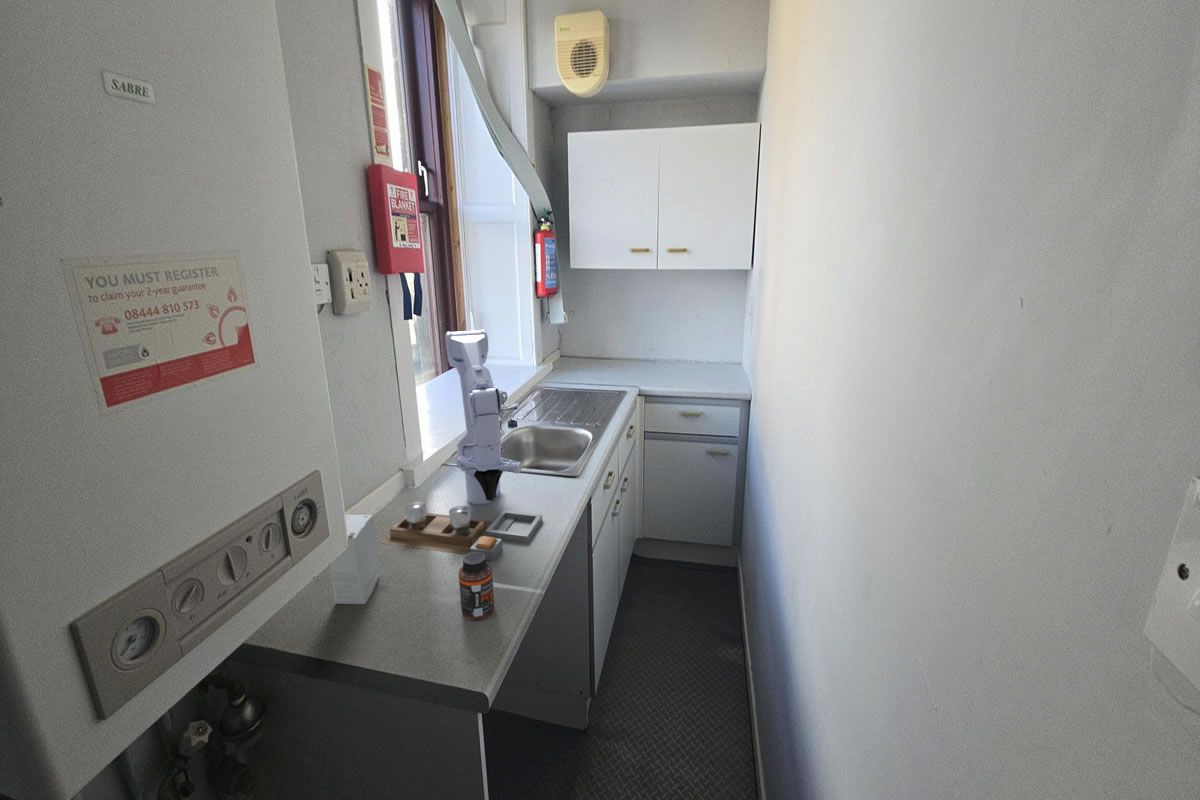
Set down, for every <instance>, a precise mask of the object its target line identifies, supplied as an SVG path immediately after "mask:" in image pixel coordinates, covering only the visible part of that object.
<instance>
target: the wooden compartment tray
mask: <svg viewBox="0 0 1200 800" xmlns="http://www.w3.org/2000/svg"><path fill="white" fill-rule="evenodd" d="M426 516H427V526H426V527H425V528H424V529H423V530H414V529H408V528H407V520H406V514H405V515H404V516H403V517H401V519H399V521H397V522H396V523H394V524H393V525H392V526H391V527H390V528H389V535H388V536H386V537H385V538H384V539H383V540H381V542H380V544H385V545H392V546H399V547H407V548H414V549H421V550H427V551H434V552H435V551H436V552H441V553H442V552H443V553H444V552H445V553H449V554H450V553H451V554H456V555H457V554H458V555H464V556H465V555H467V554H469V553H471V552H470V548H471V547H472V546H473V545H474V543H475V542H476V541H477V540H478V539H479V537H480V536H486V532H485V531H486V530H487V529H488V528H489V526H490V525H491V524H492V523H493V522H494V521H488V520H486V519H480V518H471V517H470V523H471V533H470V534H469V535H468V536H460V535H452V534H451V527H450V516H449V514H448V515H446V514H438V513H429V512H426Z"/></svg>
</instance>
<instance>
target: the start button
mask: <svg viewBox="0 0 1200 800" xmlns="http://www.w3.org/2000/svg"><path fill="white" fill-rule="evenodd" d="M495 538H496V537H491V536H486V535H484V536H482V537H481V538H480V539H479V541H478V542H477V543H476V544H477V547H478V548H485V549H491V548H492V547H493V545H494V544H495V543H496V539H495Z"/></svg>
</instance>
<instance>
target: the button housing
mask: <svg viewBox="0 0 1200 800" xmlns="http://www.w3.org/2000/svg"><path fill="white" fill-rule="evenodd" d="M481 537H482V536H480V537H479V539H480V538H481ZM479 539H478V540H477V541H476V542H475V543H474V545H473V546H472V547H471V548H470V553H472V552H481V553H483V554H485V556H486V562H492V563H493V562H494V561H495V560H496V559H497V557H498V556H499V554H500V553H501V552H502V551H503V540H502V539H500V538H499V537H495V539H496V543H495V544H494V545H493V547H492V548H491V549H485V548H478V547H477V544H476V543H477V542H478V541H479Z"/></svg>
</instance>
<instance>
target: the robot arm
mask: <svg viewBox="0 0 1200 800" xmlns="http://www.w3.org/2000/svg"><path fill="white" fill-rule="evenodd" d="M444 336H445V349H446V355H447V362H448V363H449V364H448V365H449V366H450V367H453V368H454V369H456V370H457V373H458V375H459V379H460V380H459V381H460V389H461V394H462V395H461V397H462V405H463V412H464V420H465V421H464V422H465V427H466V428H465V429H466V432H465V433H464V434H463V435H462V436H461V437H459V439H458V440H457V443H456V447H457V450H456V452H457V453H456V454H457V458H456V468H458V469H459V470H460V471H461V472H464V478H465V488H466V501H467V502H469V503H470V504H473V505H485V504H488V503H491V502H492V501H494V500H495V499H496V496H499V497H500V496H501V495H502V494H503V493H504V490H501V481H500V480H501V476H502V474H503V472H512V473H514V474H519V473H520V472H521V471H522V461H515V460H512V459H508V458H505V457H502V445H501V443H502V441H501V431H500V430H501V429H500V415H501V413H502V398H501V394H500V390H499V387H498V386H497V385H496V384H494V382H493V379H492V376H491V371H490V370H489V368H487V367H486V366H483V365H484V364H485V363H486V360H487V358H488V353H489V337H488V333H487V331H486V330H485V329H478V330H477V329H476V330H462V331H446V333H445V335H444ZM499 414H500V415H499ZM468 444H471V445H468Z"/></svg>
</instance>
